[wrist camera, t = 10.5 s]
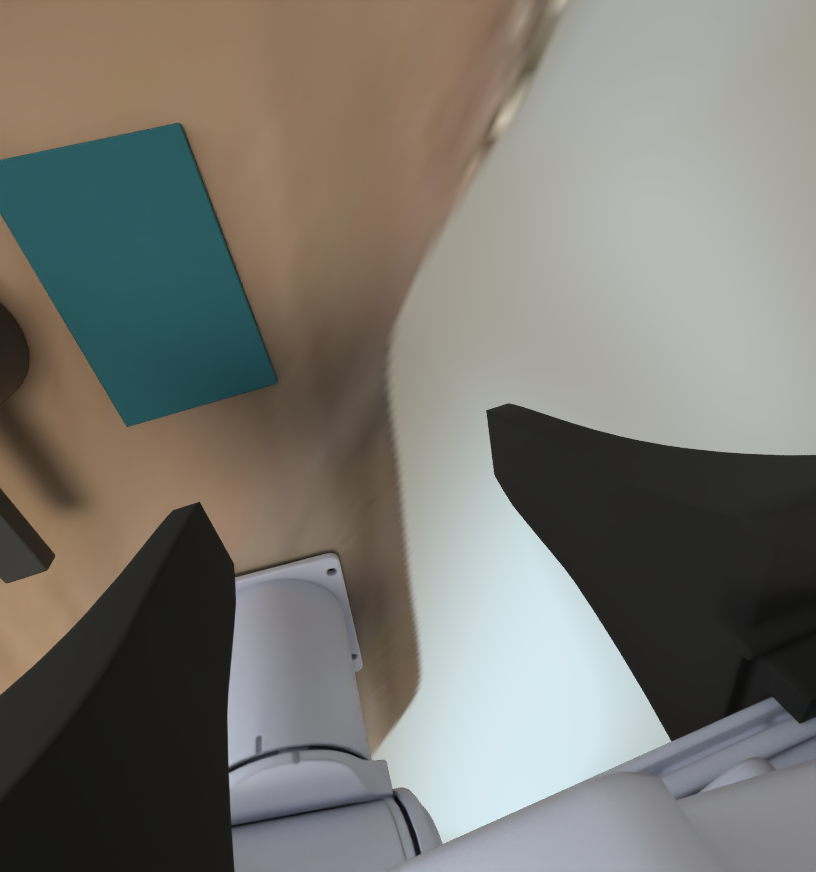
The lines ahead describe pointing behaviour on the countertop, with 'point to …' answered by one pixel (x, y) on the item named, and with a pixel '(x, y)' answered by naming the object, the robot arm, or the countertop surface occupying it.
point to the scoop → (3, 523)
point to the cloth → (137, 269)
